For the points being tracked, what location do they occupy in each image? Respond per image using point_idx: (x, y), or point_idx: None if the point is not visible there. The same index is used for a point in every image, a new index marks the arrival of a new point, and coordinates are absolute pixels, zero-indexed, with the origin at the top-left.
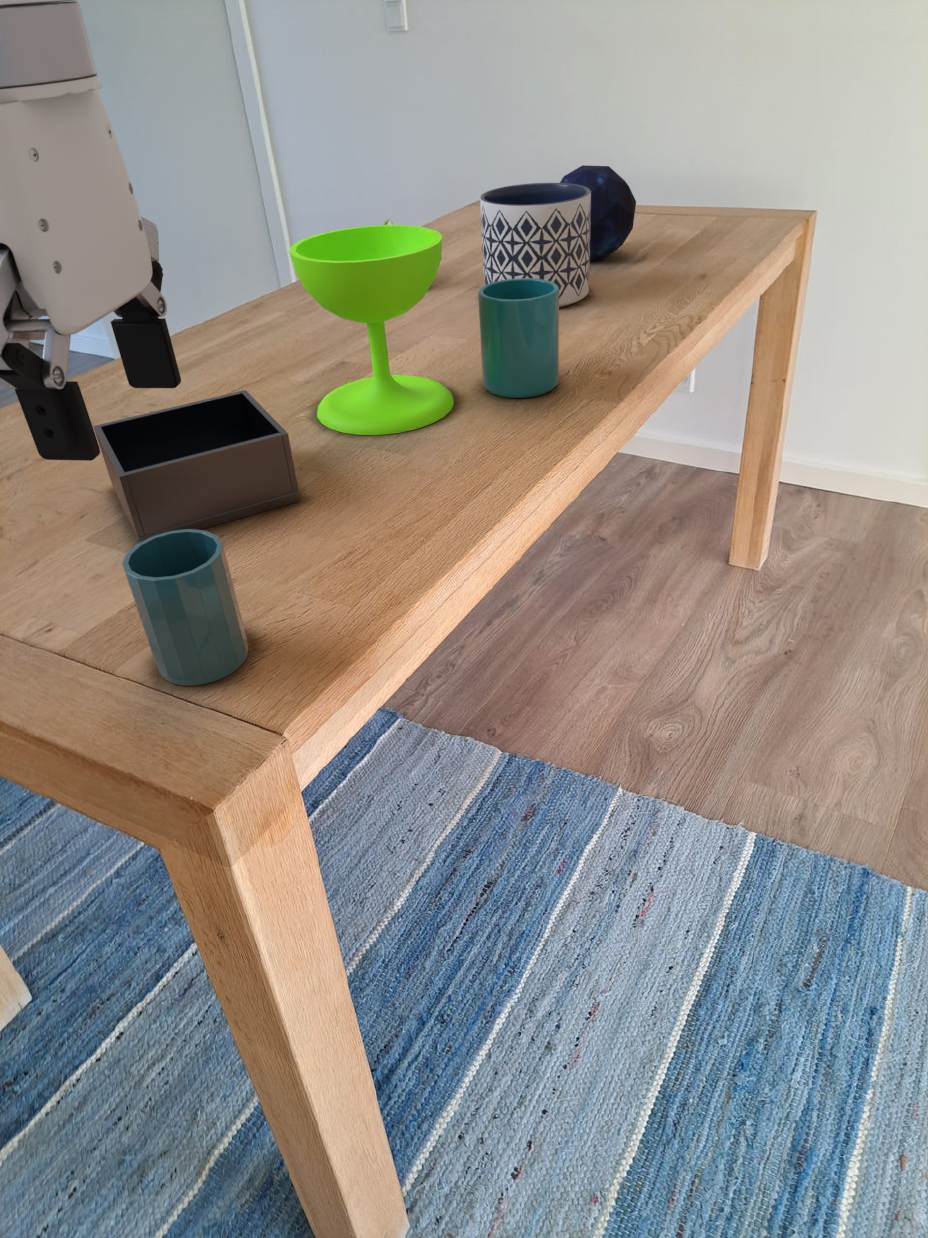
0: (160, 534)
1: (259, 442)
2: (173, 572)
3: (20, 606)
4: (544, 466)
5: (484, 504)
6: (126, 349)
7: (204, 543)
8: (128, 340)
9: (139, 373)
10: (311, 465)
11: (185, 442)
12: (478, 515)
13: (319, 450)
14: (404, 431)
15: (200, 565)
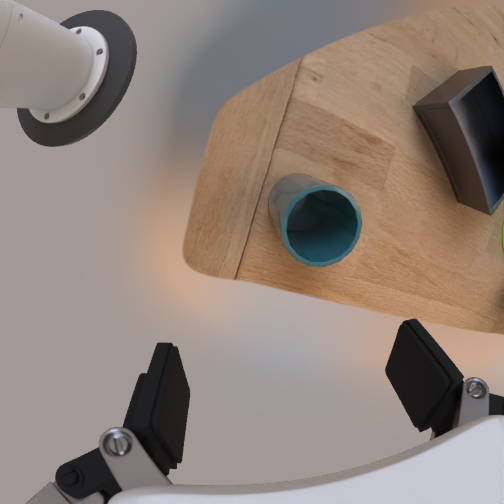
0: (353, 200)
1: (485, 197)
2: (337, 196)
3: (336, 47)
4: (457, 323)
5: (436, 309)
6: (422, 367)
7: (351, 233)
8: (427, 381)
9: (403, 351)
10: None
11: (495, 119)
12: (427, 310)
13: None
14: (502, 241)
15: (344, 217)
